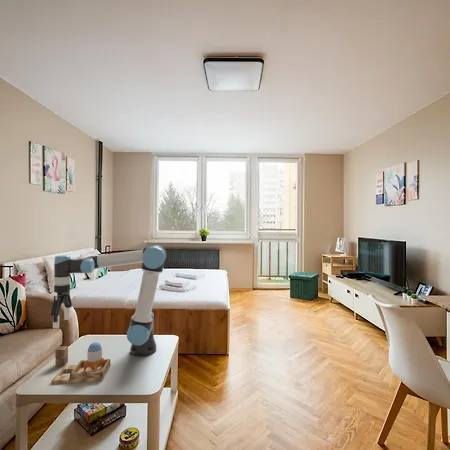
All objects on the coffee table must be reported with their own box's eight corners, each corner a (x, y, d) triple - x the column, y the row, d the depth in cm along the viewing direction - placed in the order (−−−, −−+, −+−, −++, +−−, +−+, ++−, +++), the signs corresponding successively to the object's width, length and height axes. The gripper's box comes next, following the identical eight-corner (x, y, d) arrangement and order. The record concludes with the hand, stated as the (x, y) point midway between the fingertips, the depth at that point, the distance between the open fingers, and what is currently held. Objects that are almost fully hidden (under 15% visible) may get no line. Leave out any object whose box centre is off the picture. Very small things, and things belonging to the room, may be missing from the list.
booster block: (67, 362, 160) (67, 346, 160) (64, 366, 155) (64, 349, 155) (59, 362, 159) (59, 346, 159) (55, 366, 155) (55, 349, 155)
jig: (110, 366, 156) (110, 358, 156) (102, 380, 141) (102, 372, 141) (65, 368, 153) (65, 360, 153) (51, 383, 138) (51, 375, 138)
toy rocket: (99, 377, 143) (92, 349, 141) (79, 379, 144) (72, 352, 142) (109, 364, 153) (103, 338, 151) (91, 366, 154) (84, 340, 152)
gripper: (64, 279, 169) (64, 316, 169) (43, 289, 144) (42, 332, 144) (78, 279, 170) (77, 316, 170) (59, 289, 145) (58, 331, 145)
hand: (61, 323), depth 157 cm, fingers open, 13 cm apart
